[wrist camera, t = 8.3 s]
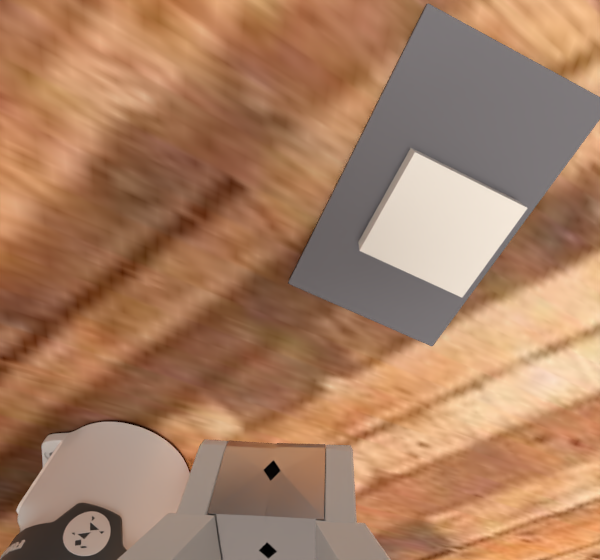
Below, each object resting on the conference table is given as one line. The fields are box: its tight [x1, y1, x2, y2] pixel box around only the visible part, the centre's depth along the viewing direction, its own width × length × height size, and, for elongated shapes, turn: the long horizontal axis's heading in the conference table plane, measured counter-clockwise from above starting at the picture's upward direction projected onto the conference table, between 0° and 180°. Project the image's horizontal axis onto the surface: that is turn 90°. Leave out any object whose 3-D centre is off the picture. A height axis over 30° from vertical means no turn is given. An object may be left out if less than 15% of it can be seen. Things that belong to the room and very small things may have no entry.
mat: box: [288, 4, 600, 346], centre depth 33 cm, size 22×14×1 cm, turn 156°
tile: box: [358, 148, 527, 297], centre depth 32 cm, size 8×2×9 cm
